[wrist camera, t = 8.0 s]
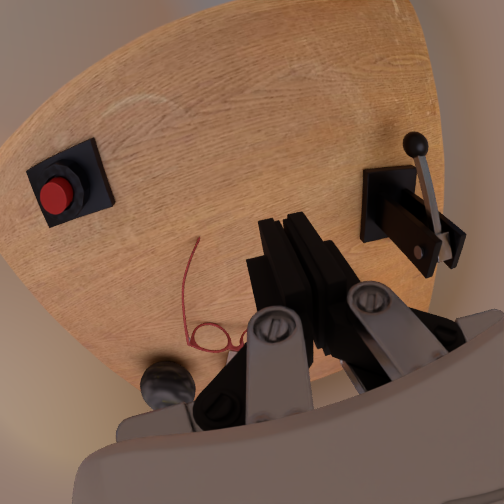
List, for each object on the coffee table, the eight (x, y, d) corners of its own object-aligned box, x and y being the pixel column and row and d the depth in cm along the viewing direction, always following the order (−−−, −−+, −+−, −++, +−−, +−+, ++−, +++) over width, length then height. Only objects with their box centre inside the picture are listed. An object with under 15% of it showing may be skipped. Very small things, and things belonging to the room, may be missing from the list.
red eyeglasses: (177, 324, 40) (176, 350, 35) (188, 234, 31) (185, 259, 27) (283, 331, 44) (290, 355, 40) (320, 253, 36) (334, 276, 32)
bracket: (363, 169, 30) (430, 219, 19) (411, 164, 30) (480, 208, 19) (359, 238, 35) (409, 302, 25) (404, 228, 36) (457, 282, 25)
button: (54, 211, 24) (47, 218, 22) (43, 182, 22) (35, 189, 20) (77, 202, 24) (71, 209, 23) (66, 172, 22) (59, 177, 20)
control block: (53, 223, 27) (43, 235, 25) (30, 167, 23) (17, 176, 20) (115, 202, 27) (107, 213, 25) (94, 137, 23) (82, 143, 20)
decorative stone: (168, 343, 42) (165, 395, 34) (205, 368, 47) (208, 415, 39) (132, 361, 44) (126, 407, 36) (169, 382, 49) (168, 425, 41)
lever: (394, 136, 24) (408, 127, 21) (413, 136, 24) (428, 128, 22) (421, 261, 25) (438, 263, 22) (439, 256, 25) (456, 257, 22)
